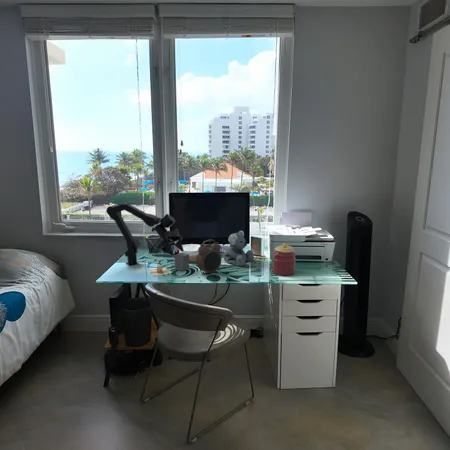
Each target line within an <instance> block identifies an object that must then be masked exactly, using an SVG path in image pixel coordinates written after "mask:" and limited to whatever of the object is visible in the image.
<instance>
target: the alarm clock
mask: <svg viewBox="0 0 450 450" xmlns="http://www.w3.org/2000/svg"><path fill="white" fill-rule="evenodd" d="M210 241H211V242H213V243H212V244H208V245H206V244H205V243H207V242H210ZM199 245H200V247H199V248H198V252H199V253H198V255H197V258H196V261H195V263H196V266H197V268H198V269H199V270H201V272H200V273H201V274H202V273H203V272H204V274H203V276H206V274H207V273H208V274H212V273H218V270H219V268H220V266H221V265H222V254H221V253H220V251H221V245H220V244H219V242H218V241H217V242H216V240H214V239H207V240H204V241H203V242H202V244H199Z"/></svg>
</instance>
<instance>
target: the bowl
mask: <svg viewBox="0 0 450 450" xmlns="http://www.w3.org/2000/svg"><path fill="white" fill-rule="evenodd" d="M200 245H201V244H197V243H196V244H195V243H194V244H193V243H190V244H182V247H183V250H184V251H183V252H182V251H181V250H180V249H178V250H179V253H186V254H189V263H190V262H191V263H193V262H196V258H197V255H198V253H199V252H198V248H199V247H200Z"/></svg>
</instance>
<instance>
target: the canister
mask: <svg viewBox="0 0 450 450" xmlns="http://www.w3.org/2000/svg"><path fill="white" fill-rule="evenodd" d="M272 254H273V257H272V273H273V274H275V273H276V274H275V275H277V274H279V275H278V276H281V275H290V276H293V275H294V274H295V273H296V261H297V258H296V256H297V253H296V251H295V248H294V247H293V246H291V245H288V244H287V242H284V243H283V244H282V245H281V244H280V245H278V246H276V247H274V251H273V252H272Z"/></svg>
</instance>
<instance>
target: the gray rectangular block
mask: <svg viewBox="0 0 450 450" xmlns="http://www.w3.org/2000/svg"><path fill="white" fill-rule="evenodd" d="M188 269H190V262H189V254H186V253H180V252H178V253H176V254H174V271H179V272H185V271H187V270H188Z"/></svg>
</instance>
